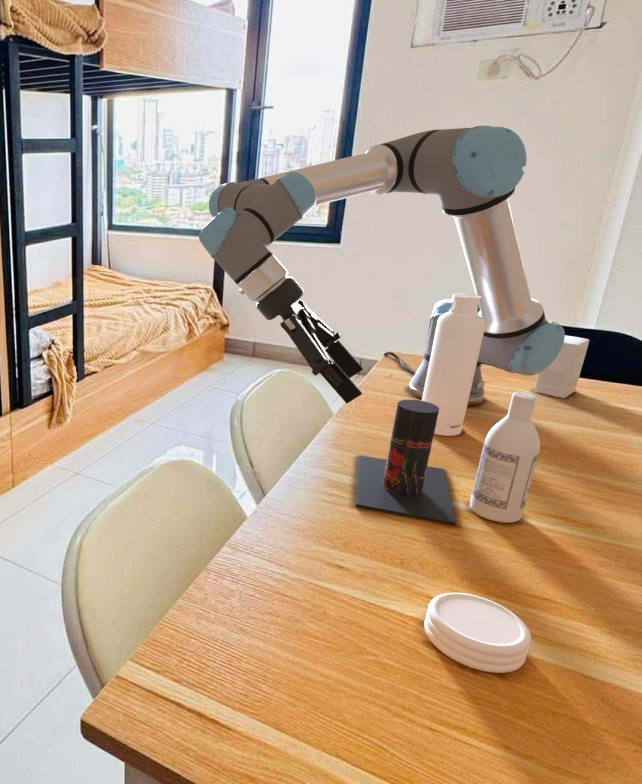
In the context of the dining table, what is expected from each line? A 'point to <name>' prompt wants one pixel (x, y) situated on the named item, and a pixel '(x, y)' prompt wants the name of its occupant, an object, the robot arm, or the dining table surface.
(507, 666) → the coaster
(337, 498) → the dining table surface
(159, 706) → the dining table surface
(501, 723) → the dining table surface
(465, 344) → the bottle
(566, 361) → the small box
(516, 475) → the bath foam
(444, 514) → the mat
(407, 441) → the deodorant
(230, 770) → the dining table surface
